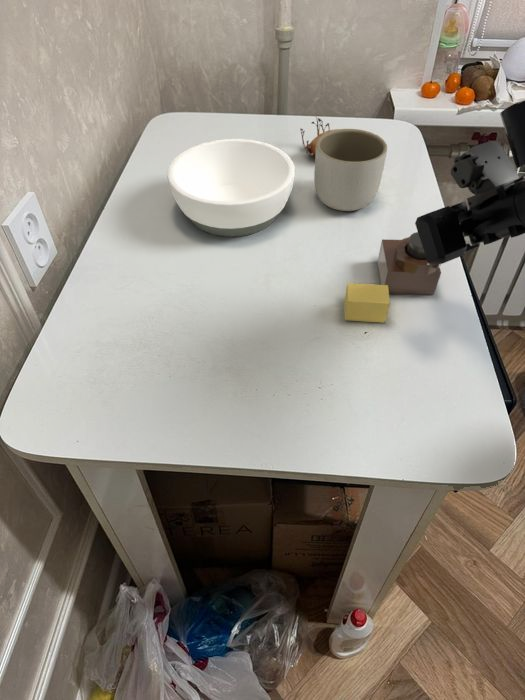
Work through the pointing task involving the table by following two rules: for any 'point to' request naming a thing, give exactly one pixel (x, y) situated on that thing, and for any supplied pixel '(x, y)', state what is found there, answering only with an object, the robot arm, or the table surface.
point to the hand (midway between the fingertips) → (440, 234)
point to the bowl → (231, 185)
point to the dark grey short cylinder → (415, 247)
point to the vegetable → (312, 146)
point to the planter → (348, 168)
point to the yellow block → (366, 302)
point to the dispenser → (405, 270)
